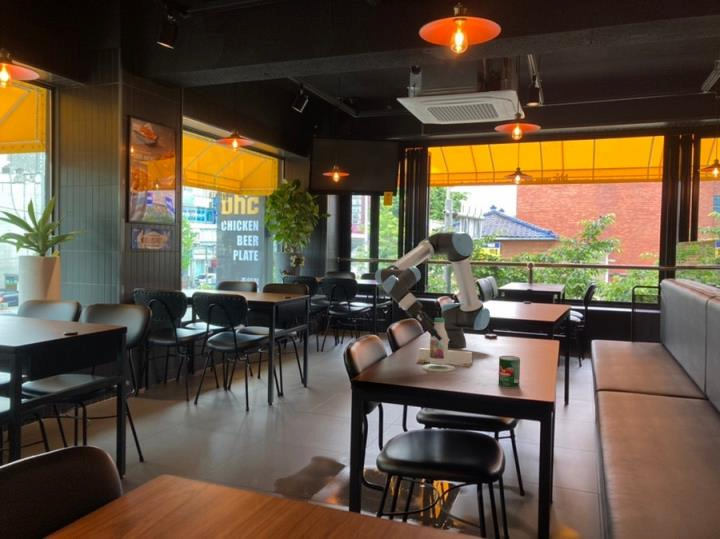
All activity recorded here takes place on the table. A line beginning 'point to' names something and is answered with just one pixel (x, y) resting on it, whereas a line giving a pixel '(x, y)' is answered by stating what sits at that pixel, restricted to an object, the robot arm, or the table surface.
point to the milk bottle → (438, 344)
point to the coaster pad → (438, 368)
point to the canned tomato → (509, 371)
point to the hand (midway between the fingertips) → (447, 343)
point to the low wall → (453, 357)
